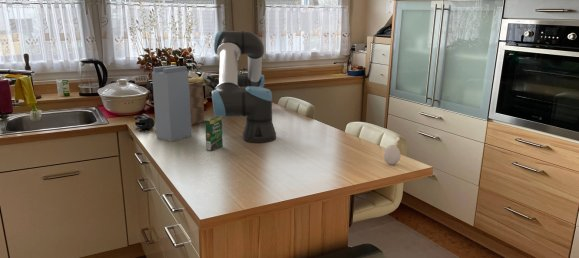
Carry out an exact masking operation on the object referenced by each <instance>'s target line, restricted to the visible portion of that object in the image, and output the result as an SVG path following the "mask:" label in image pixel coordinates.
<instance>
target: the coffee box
mask: <svg viewBox="0 0 579 258" xmlns="http://www.w3.org/2000/svg"><path fill="white" fill-rule="evenodd" d="M222 121H223V120H222V116H216V115H215V116H214V117H211V118H208V119H206V120H205V119H204V125H205V126H204V127H205V129H204V130H205V148H206V151H208V152H212V151H215V150H217V149H220V148H223V145H224V144H223V141H224V140H223V125H222V124H223V123H222Z"/></svg>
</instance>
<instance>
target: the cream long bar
mask: <svg viewBox="0 0 579 258" xmlns="http://www.w3.org/2000/svg"><path fill="white" fill-rule="evenodd" d="M194 82H203V86H204V85H208V84H210V82H209V81H207V80H205V79H204V78H202V77H201V76H199V77H194V78H192V77H189V83H194Z"/></svg>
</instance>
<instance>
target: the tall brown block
mask: <svg viewBox="0 0 579 258" xmlns="http://www.w3.org/2000/svg"><path fill="white" fill-rule="evenodd" d="M189 94H190V113H191V126H192V125H197V124H199V123H205V105H204V104H205V103H204V85H203V82H194V83H189Z"/></svg>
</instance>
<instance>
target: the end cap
mask: <svg viewBox="0 0 579 258" xmlns="http://www.w3.org/2000/svg"><path fill="white" fill-rule="evenodd" d="M134 120H135V122H134V124H135V129H136V130H137V131H139V132H140V133H143V132H148V131H149V132H150V131H152V129H153V128H154V127H155V126H156V123H155V119H154V118H153V117H151V116H150V115H148V114H146V113H142V114H141V115H134ZM136 120H138V121H136ZM142 131H143V132H142Z"/></svg>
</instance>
